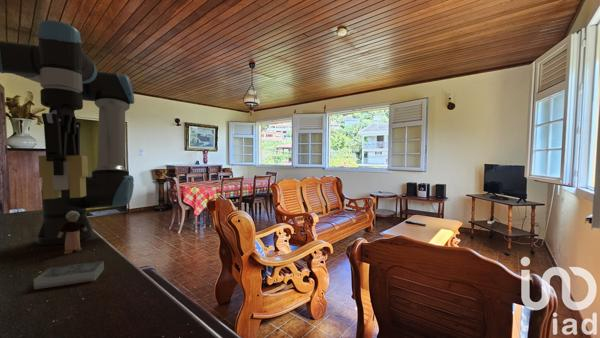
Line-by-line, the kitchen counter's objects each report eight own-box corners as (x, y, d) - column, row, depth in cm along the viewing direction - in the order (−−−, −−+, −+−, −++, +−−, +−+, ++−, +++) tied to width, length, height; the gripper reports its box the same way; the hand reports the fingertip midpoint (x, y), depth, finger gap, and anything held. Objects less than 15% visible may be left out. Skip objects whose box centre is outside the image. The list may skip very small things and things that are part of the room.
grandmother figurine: (66, 255, 79) (64, 213, 78) (56, 254, 80) (54, 213, 79) (91, 247, 86) (89, 208, 86) (81, 246, 87) (80, 208, 87)
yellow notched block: (48, 197, 64) (46, 156, 64) (88, 195, 67) (87, 156, 67) (40, 199, 61) (38, 155, 60) (82, 197, 63) (81, 155, 63)
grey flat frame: (49, 276, 65) (49, 267, 65) (104, 269, 69) (103, 260, 69) (34, 289, 58) (33, 279, 58) (94, 280, 62) (94, 271, 62)
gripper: (59, 98, 70) (62, 187, 70) (19, 78, 54) (23, 193, 54) (93, 100, 72) (96, 185, 73) (65, 82, 57) (69, 191, 57)
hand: (65, 188), depth 64 cm, fingers closed on yellow notched block, 4 cm apart
